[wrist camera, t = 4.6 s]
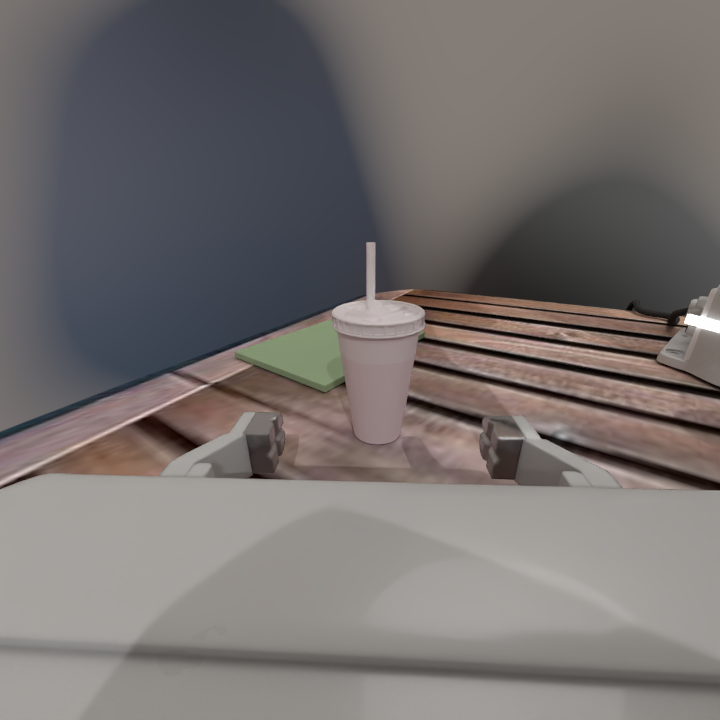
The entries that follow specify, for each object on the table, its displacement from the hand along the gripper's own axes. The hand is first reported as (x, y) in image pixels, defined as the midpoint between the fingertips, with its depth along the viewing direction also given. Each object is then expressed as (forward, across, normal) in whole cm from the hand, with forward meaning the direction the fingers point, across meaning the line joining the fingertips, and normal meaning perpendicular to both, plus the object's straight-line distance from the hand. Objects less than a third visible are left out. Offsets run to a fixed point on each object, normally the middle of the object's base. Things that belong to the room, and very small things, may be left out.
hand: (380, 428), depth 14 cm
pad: (+29, +6, +8) cm, 31 cm away
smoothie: (+11, 0, +8) cm, 13 cm away
